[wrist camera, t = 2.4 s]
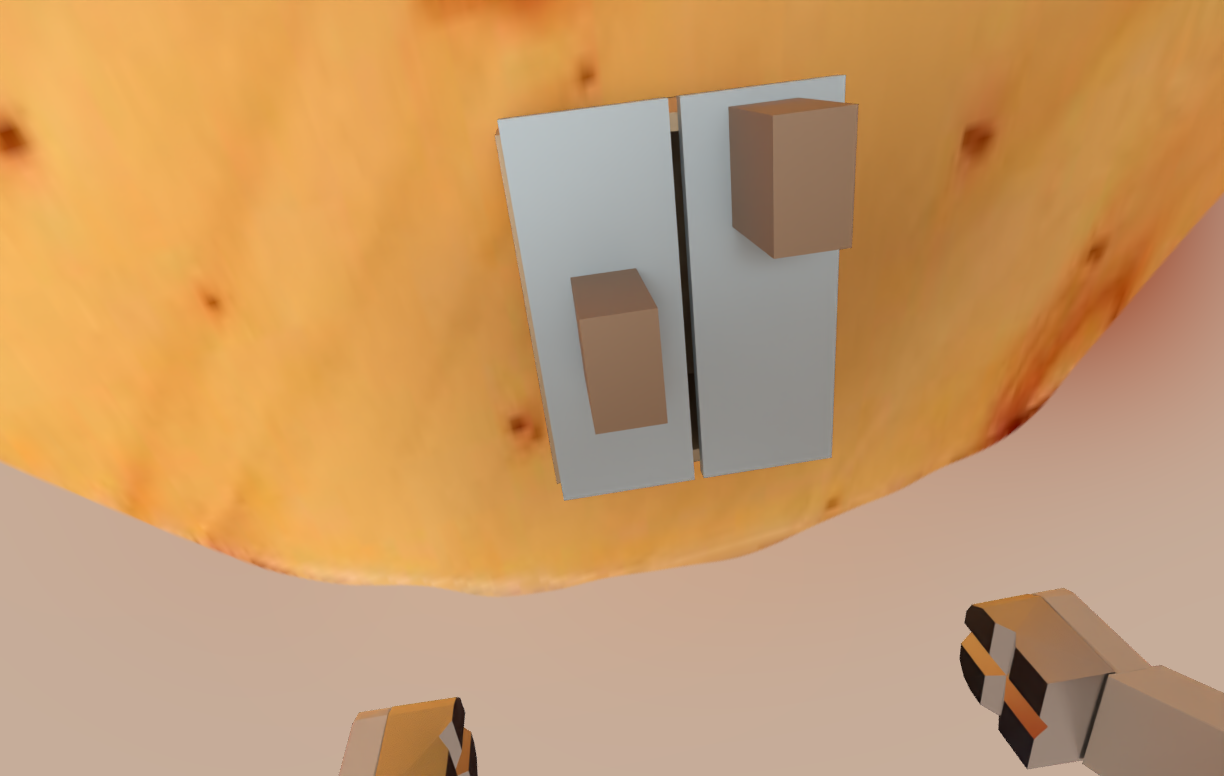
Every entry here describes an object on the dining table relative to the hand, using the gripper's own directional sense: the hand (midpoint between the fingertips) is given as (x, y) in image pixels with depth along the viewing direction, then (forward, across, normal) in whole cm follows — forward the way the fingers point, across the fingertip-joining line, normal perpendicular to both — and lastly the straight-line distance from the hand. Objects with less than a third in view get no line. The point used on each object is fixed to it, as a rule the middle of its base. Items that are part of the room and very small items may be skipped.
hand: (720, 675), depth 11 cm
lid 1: (+17, 0, 0) cm, 17 cm away
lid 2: (+17, -6, 0) cm, 18 cm away
